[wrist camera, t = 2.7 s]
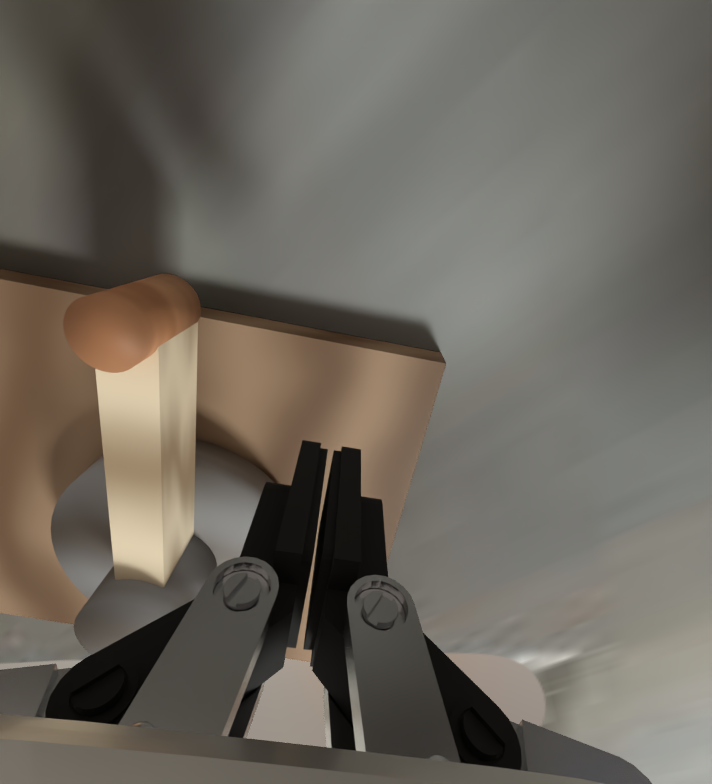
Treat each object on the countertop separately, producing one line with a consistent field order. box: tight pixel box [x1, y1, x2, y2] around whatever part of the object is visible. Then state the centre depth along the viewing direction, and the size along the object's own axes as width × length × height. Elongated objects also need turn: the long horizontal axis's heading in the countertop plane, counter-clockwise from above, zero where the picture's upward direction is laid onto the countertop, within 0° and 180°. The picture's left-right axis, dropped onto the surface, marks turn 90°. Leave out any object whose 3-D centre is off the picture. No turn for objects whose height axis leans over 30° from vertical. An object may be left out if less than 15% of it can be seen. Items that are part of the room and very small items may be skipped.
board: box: [0, 269, 446, 662], centre depth 22 cm, size 26×22×2 cm
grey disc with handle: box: [51, 274, 275, 655], centre depth 17 cm, size 20×12×6 cm, turn 170°
